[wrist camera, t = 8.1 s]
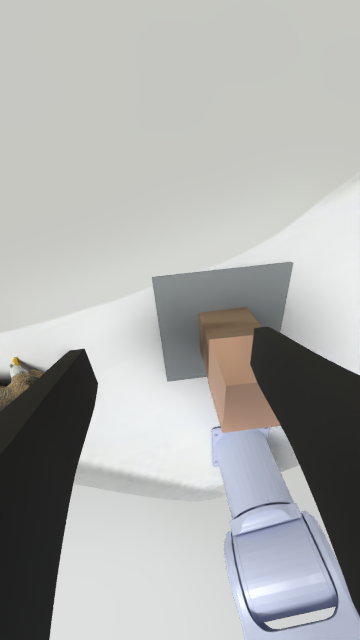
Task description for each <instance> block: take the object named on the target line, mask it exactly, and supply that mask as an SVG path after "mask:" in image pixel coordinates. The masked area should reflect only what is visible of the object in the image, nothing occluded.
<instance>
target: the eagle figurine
mask: <svg viewBox="0 0 360 640" xmlns="http://www.w3.org/2000/svg"><path fill="white" fill-rule="evenodd" d="M9 368H10V374H11V383H10V384H9V385H8V386H6V387H4V386H1V385H0V411H1V410H3V409H4V408H5V407H6V406H7V405H8V404H10V403H11V402H12V401H13V400H14V399H16V398H17V397H18V396H19V395H20V394H22V393H23V392H24V391H25V390H26V389H27V388H29V387H30V386H31V385H32V384H33V383H34V381H33V380H32V378H31V377H30V376H34V377H39V378H40V377H41V376H42V375H43V374H44V372H41V371H39V370H36V369H34V370H31V371H29V372H27V373H25V371H24V370H23V369H22V367H21V366H20V364H19V363H18V360H17V357H14V359H13V362H12V364H11V365H10V366H9Z"/></svg>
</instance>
